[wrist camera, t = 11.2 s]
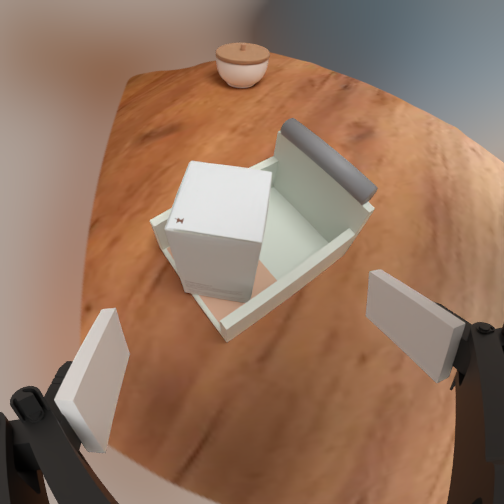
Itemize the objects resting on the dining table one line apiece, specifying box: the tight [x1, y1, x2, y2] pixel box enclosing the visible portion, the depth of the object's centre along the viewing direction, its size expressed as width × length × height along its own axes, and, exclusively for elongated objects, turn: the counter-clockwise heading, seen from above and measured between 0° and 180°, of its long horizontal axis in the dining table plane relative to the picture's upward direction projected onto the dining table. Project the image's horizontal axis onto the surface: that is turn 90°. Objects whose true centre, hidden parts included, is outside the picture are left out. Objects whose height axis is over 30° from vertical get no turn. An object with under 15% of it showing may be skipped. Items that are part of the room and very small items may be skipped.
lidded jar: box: [216, 43, 270, 88], centre depth 51 cm, size 11×11×9 cm
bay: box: [150, 118, 378, 342], centre depth 30 cm, size 19×14×12 cm
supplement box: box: [165, 161, 272, 303], centre depth 28 cm, size 7×7×13 cm
